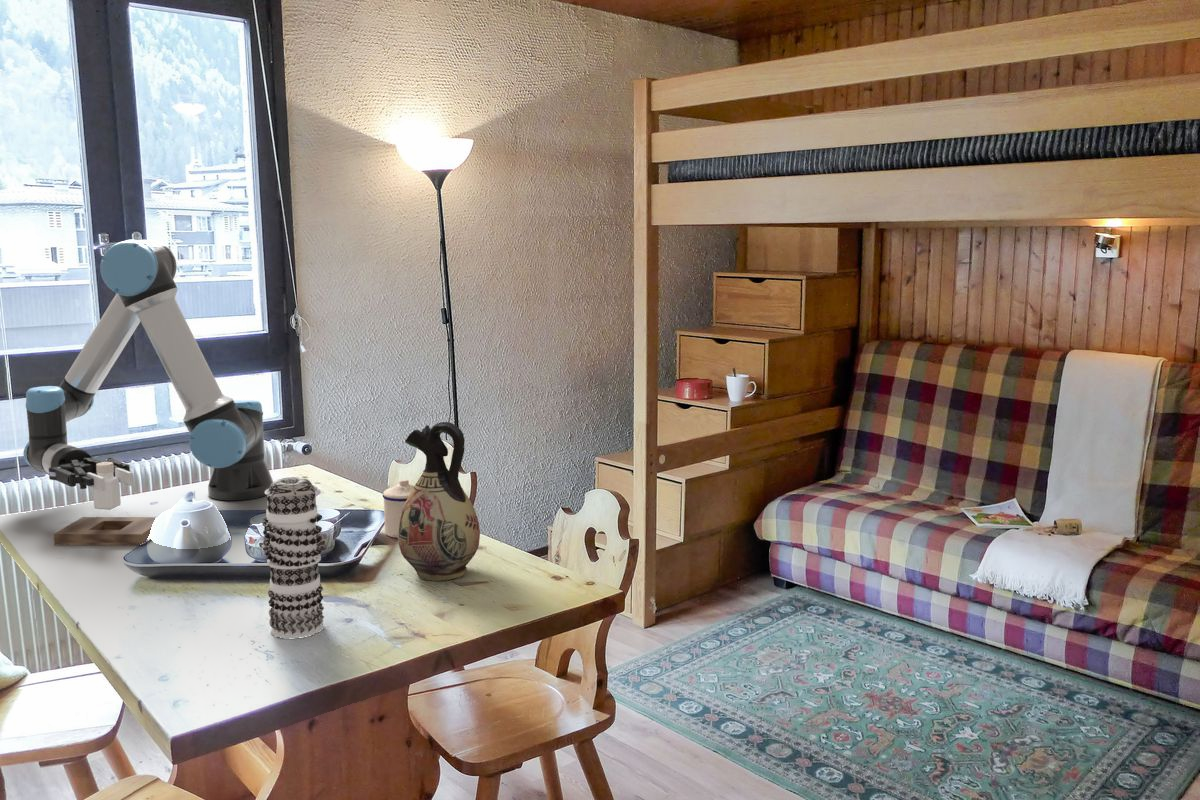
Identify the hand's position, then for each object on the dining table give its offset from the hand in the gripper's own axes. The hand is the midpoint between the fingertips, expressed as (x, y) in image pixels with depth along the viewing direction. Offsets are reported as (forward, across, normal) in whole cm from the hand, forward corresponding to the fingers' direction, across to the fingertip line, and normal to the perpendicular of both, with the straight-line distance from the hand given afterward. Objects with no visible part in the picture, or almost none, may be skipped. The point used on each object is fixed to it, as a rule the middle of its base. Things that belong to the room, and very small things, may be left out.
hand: (117, 481), depth 203 cm
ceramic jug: (+65, -30, -12) cm, 73 cm away
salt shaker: (-5, 0, -7) cm, 9 cm away
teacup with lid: (+38, -43, -12) cm, 58 cm away
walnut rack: (-5, 0, -13) cm, 14 cm away
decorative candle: (+67, +2, -12) cm, 68 cm away
